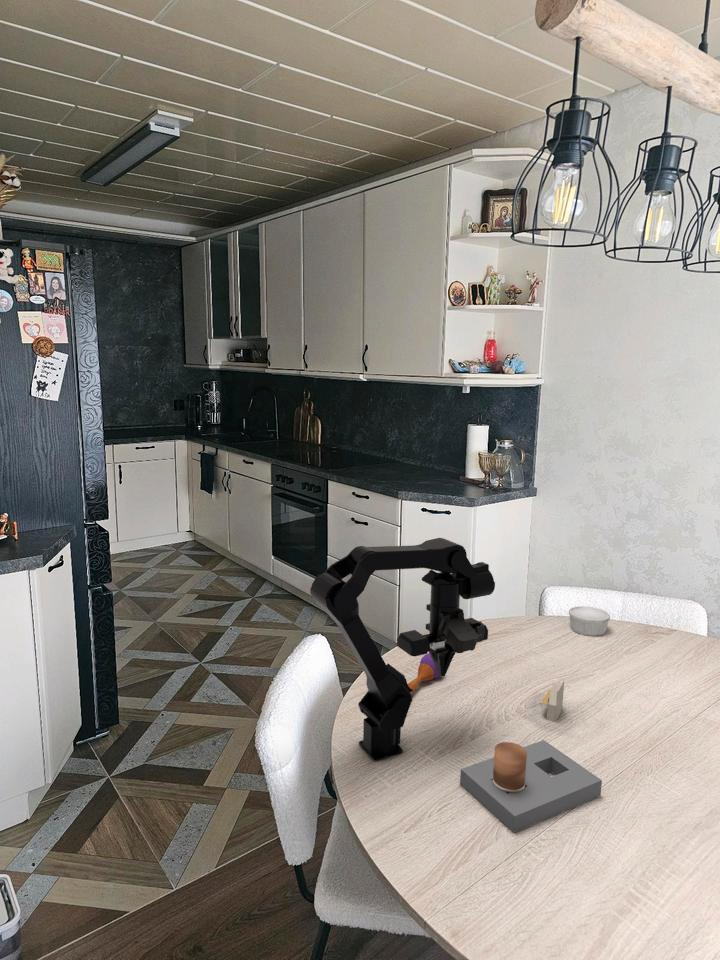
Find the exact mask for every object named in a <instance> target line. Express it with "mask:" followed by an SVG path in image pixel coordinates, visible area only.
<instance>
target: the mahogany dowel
mask: <svg viewBox="0 0 720 960" xmlns="http://www.w3.org/2000/svg"><path fill="white" fill-rule="evenodd" d="M523 747H524V746H522V745H520V744H518V743H515V742H511V741H510V742H509V741H505V742H504V741H503V742H500V743H498V744H496V745H495V747H494V751H493V752H494V754H493V755H494V756H493V758H494V769H493V784H494V785H495V786H496V787H497V788H498V789H500V790H502V791H505V792H506V793H507V794H509V793H516V792H520V791H522V790H523V789H524V788H525V776H526V761H527V751H526V750H525V748H523Z"/></svg>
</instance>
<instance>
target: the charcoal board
mask: <svg viewBox="0 0 720 960" xmlns="http://www.w3.org/2000/svg"><path fill="white" fill-rule="evenodd" d="M522 747H523V748H525V750H526V751H527V761H526V776H525V788H524V789H523V790H522V791H520V792H516V793H509V794H507V793H506V792H505V791H502V790H500V789H498V788H497V787H496V786H495V785H494V784H493V769H494V757H492V758H487V759H486V760H482V761H480V762H478V763H474V764H471V765H468V766H465V767H463V768H460V775H459V777H460V779H459V785H460V786H461V787H463V788H464V789H465V790H466V791H467V792H468V793H469V794H470V795H471V796H472V797H473V798H475V799H476V800H477V801H478V802H479V803H480V804H481V805H482V806H483V807H485V809H487V811H489V812H490V813H491V814H492V815H493V816H494V817H496V818H497V819H498V820H499V821H500V822H501V823H502V824H503V825H504V826H505V827H506V828H508V829H509V830H510V831H511V832H512V833H513V834H514V833H517V832H520V831H521V830H524V829H527V828H528V827H530V826H534V825H536V824H538V823H540V822H543V821H545V820H547V819H550V818H552V817H554V816H557V815H558V814H561V813H563V812H566V811H568V810H571V809H573V808H574V807H577V806H580V805H582V804H585V803H587V802H589V801H592V800H594V799H596V798H598V796H599V797H601V795H602V794H601V793H602V785H603V783H602V782H603V780H602V779H601V778H600V777H598V776H596V775H595V774H593V772H590V771H589V770H588V769H586V768H585V767H583V766H582V765H581V764H579V763H578V762H577V761H575V760H573V758H571V757H569V756H567V754H565V753H564V752H562V751H561V750H559V749H557V748H556V747H555V746H553V745H552V744H551V743H549V742H548V741H546V740H545V739H542V740H539V741H537V742H534V743H531V744H528V745H526V746H522ZM549 773H551V774H553V775H552V776H551V775H550V774H549ZM591 799H592V800H591Z"/></svg>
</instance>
